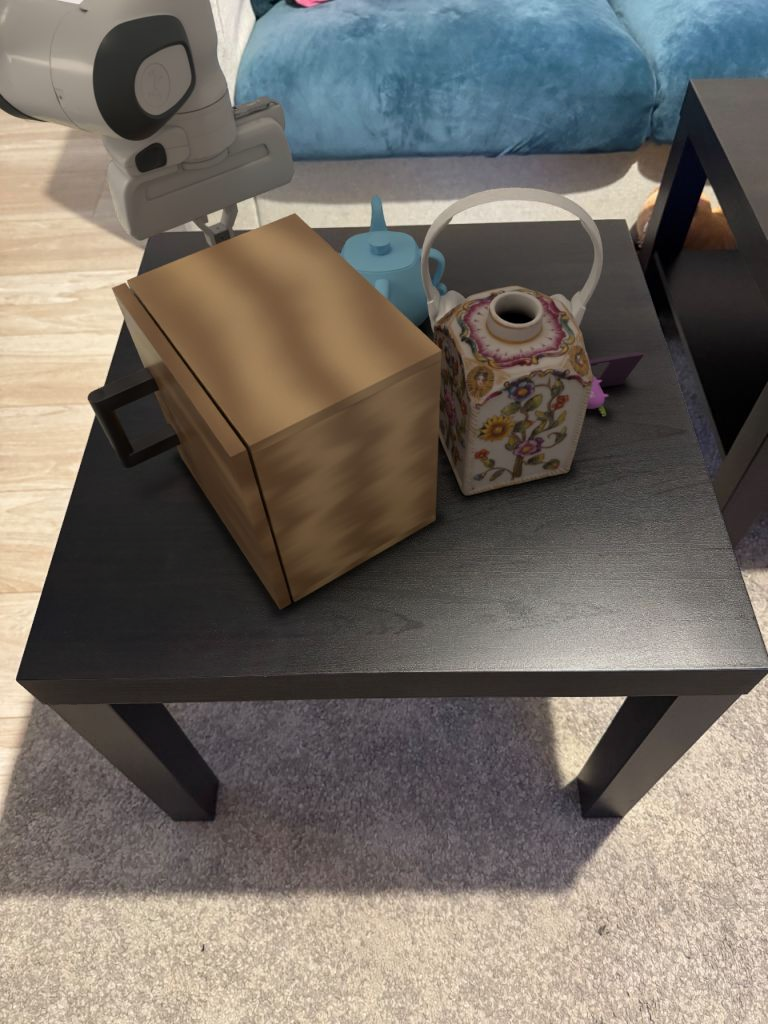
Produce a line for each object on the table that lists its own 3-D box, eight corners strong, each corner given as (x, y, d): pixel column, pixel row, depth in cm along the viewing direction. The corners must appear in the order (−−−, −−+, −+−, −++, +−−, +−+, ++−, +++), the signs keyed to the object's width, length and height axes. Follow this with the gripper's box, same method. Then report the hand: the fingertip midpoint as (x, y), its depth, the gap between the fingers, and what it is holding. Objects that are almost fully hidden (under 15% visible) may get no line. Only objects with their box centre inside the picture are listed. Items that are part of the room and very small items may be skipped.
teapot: (377, 370, 85) (377, 292, 76) (300, 308, 91) (291, 229, 81) (454, 320, 90) (462, 241, 80) (376, 265, 95) (376, 185, 86)
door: (222, 643, 65) (150, 496, 47) (129, 482, 76) (42, 315, 58) (291, 603, 67) (246, 449, 49) (191, 452, 78) (125, 282, 60)
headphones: (422, 329, 88) (424, 170, 72) (577, 335, 86) (614, 173, 70) (418, 371, 84) (418, 212, 68) (581, 378, 82) (621, 217, 66)
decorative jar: (428, 417, 80) (431, 278, 65) (529, 395, 81) (554, 254, 66) (462, 501, 73) (474, 368, 58) (572, 476, 74) (610, 340, 60)
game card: (641, 344, 75) (557, 358, 75) (655, 390, 74) (570, 404, 73) (619, 374, 82) (542, 387, 81) (632, 417, 80) (553, 430, 80)
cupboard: (294, 602, 67) (249, 445, 49) (193, 452, 78) (126, 280, 60) (435, 520, 72) (442, 350, 54) (321, 390, 83) (295, 212, 65)
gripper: (266, 79, 79) (285, 198, 90) (85, 140, 73) (130, 260, 84) (294, 102, 76) (311, 222, 87) (108, 168, 70) (152, 288, 81)
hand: (221, 241), depth 85 cm, fingers closed
